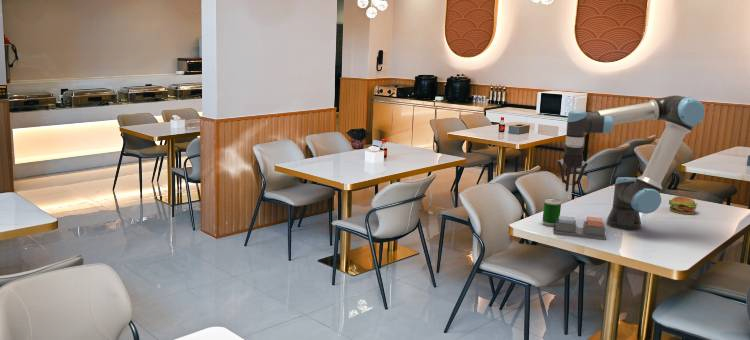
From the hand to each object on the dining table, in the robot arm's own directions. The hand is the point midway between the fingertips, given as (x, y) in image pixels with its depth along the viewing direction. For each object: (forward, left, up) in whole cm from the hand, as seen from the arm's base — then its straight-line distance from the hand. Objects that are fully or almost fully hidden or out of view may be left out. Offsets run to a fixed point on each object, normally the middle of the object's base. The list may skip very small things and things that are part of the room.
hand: (569, 198), depth 294 cm
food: (-60, -68, -16) cm, 92 cm away
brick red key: (-12, 0, -11) cm, 16 cm away
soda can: (+7, -10, -16) cm, 20 cm away
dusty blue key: (0, 0, -12) cm, 12 cm away
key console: (-6, 0, -15) cm, 16 cm away
